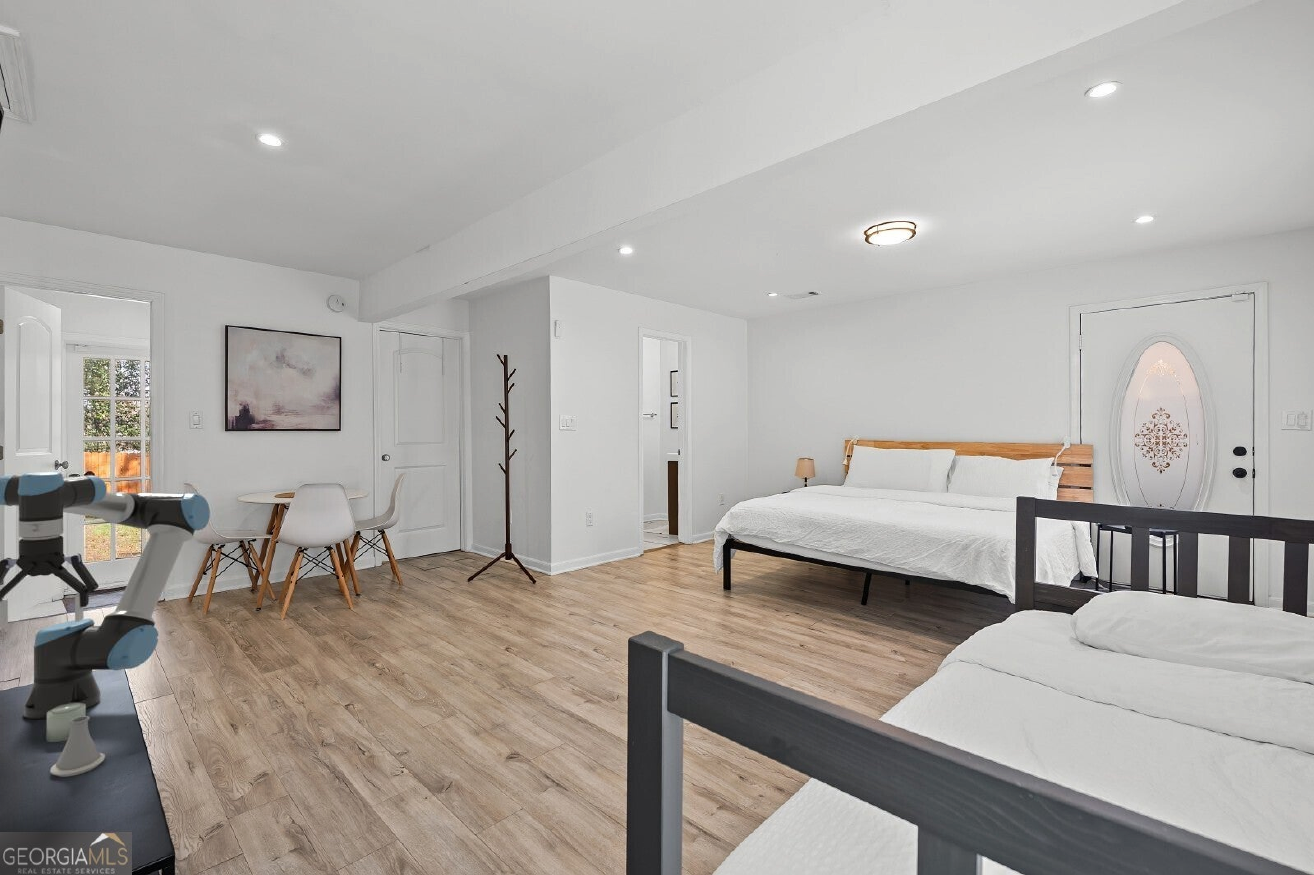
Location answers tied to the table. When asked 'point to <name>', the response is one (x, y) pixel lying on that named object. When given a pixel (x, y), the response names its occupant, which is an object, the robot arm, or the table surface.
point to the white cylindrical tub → (62, 720)
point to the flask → (78, 746)
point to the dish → (76, 771)
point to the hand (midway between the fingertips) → (41, 624)
